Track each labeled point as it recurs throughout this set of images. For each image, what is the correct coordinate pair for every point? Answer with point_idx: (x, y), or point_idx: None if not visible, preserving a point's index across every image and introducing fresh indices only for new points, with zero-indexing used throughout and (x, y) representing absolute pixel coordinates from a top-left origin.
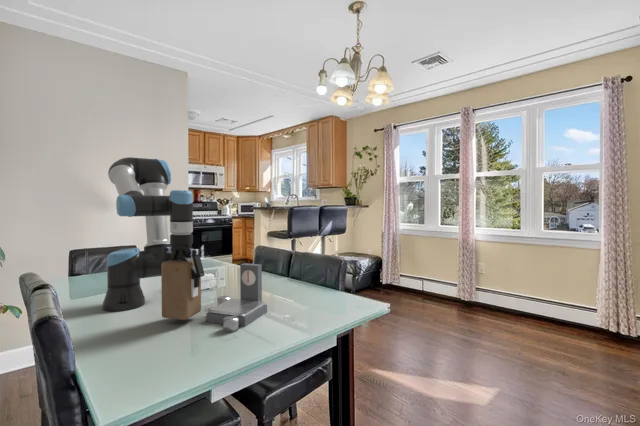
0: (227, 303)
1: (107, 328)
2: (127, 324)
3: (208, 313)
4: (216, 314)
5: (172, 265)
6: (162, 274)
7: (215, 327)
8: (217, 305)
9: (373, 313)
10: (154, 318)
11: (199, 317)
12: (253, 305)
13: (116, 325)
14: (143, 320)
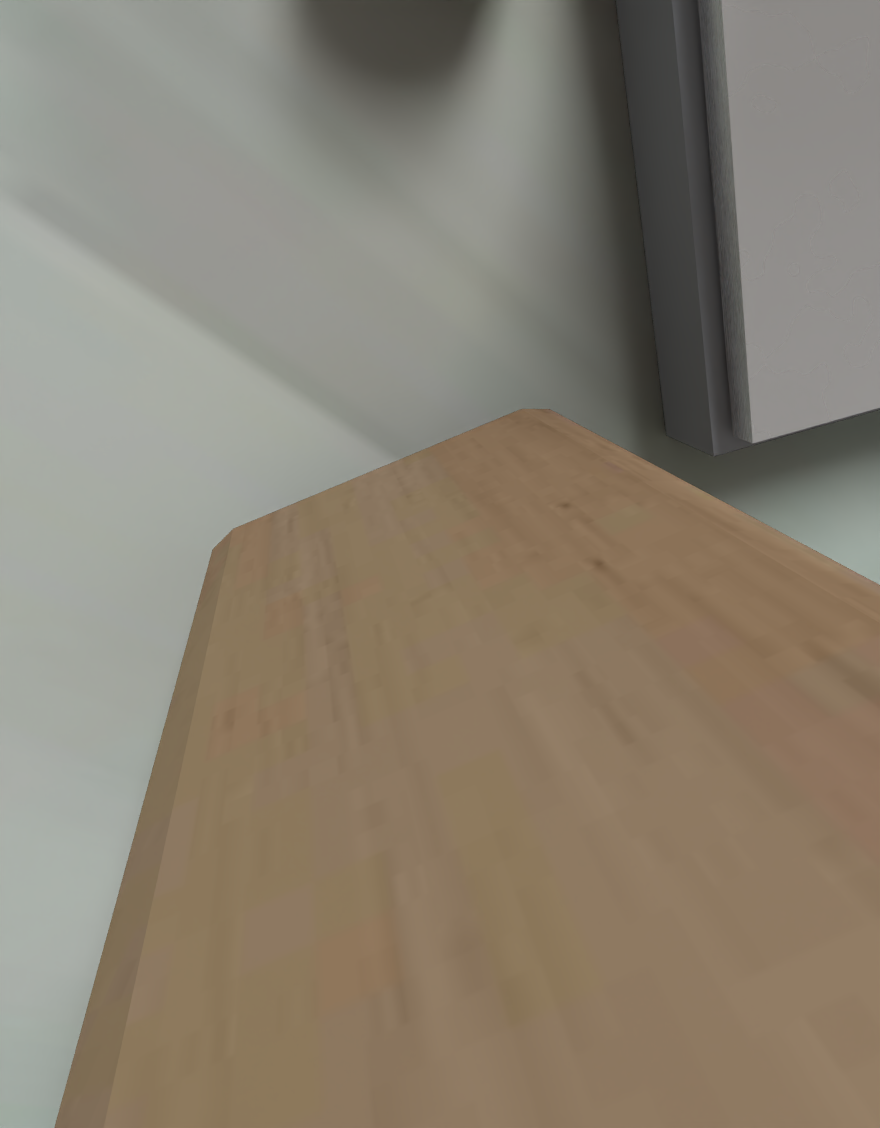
0: (823, 58)
1: (29, 1046)
2: (57, 926)
3: (741, 448)
4: (853, 416)
5: None
6: None
7: (860, 492)
8: (746, 241)
9: None
10: (84, 713)
11: (495, 399)
12: None
13: (4, 988)
14: (57, 804)
